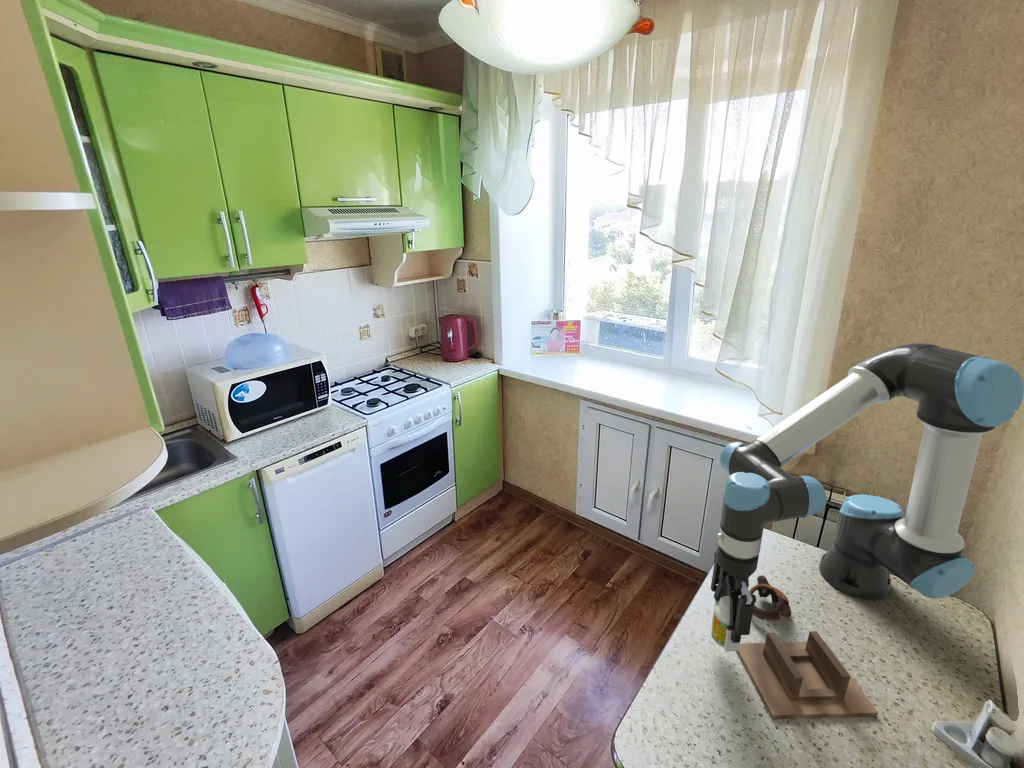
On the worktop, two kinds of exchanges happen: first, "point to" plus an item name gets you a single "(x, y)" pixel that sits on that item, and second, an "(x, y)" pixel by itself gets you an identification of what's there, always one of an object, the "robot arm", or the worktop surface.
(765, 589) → the pottery mug
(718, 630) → the supplement bottle
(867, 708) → the wooden cradle tray
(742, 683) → the worktop surface
